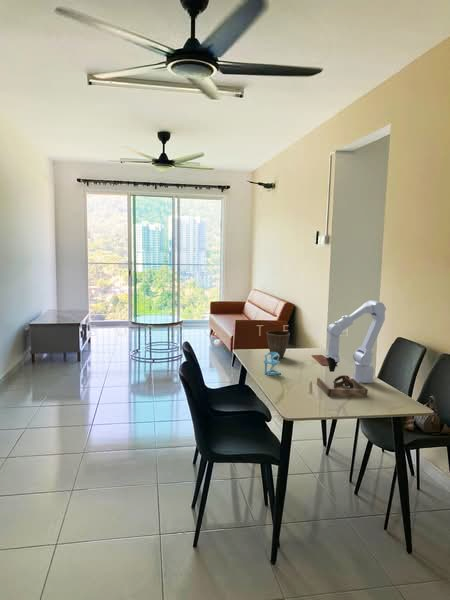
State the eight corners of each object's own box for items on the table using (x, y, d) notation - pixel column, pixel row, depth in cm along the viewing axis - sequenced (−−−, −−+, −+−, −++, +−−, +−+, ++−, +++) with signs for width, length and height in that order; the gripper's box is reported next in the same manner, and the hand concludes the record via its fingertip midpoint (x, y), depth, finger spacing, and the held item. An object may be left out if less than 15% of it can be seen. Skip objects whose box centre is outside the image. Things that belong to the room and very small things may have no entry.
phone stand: (261, 373, 226) (262, 352, 224) (271, 370, 231) (272, 350, 230) (271, 376, 220) (272, 355, 219) (281, 373, 226) (282, 353, 224)
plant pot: (264, 359, 255) (265, 334, 253) (266, 353, 270) (267, 329, 268) (288, 361, 253) (289, 336, 251) (288, 355, 267) (290, 331, 265)
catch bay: (352, 384, 212) (353, 378, 211) (367, 396, 195) (367, 389, 194) (316, 384, 210) (317, 377, 209) (328, 396, 193) (328, 389, 192)
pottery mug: (354, 395, 197) (347, 381, 196) (336, 399, 202) (329, 385, 201) (357, 382, 207) (350, 369, 206) (340, 387, 212) (333, 373, 211)
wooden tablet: (338, 367, 245) (338, 365, 245) (322, 367, 244) (322, 364, 244) (323, 355, 272) (324, 353, 271) (309, 355, 271) (309, 353, 270)
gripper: (321, 343, 221) (320, 367, 223) (330, 349, 207) (329, 375, 209) (334, 343, 222) (332, 367, 224) (344, 350, 208) (342, 375, 209)
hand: (331, 371), depth 216 cm, fingers closed
